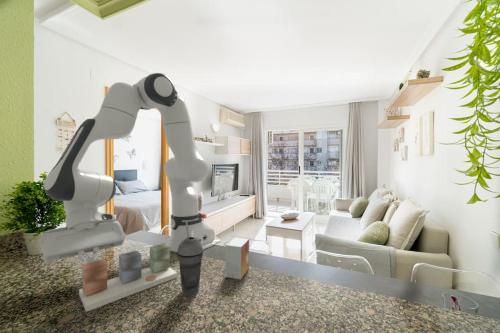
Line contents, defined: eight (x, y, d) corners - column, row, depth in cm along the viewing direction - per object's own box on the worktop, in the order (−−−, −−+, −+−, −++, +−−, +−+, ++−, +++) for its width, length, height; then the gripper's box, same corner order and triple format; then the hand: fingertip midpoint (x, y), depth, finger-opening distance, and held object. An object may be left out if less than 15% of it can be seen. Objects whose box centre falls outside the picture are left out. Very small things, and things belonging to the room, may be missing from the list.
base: (163, 266, 81) (163, 261, 81) (177, 277, 74) (177, 271, 73) (79, 294, 64) (79, 288, 64) (86, 311, 57) (85, 304, 57)
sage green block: (164, 263, 79) (164, 243, 79) (169, 267, 76) (169, 246, 76) (149, 268, 75) (149, 247, 75) (154, 272, 72) (154, 250, 72)
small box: (241, 280, 72) (241, 247, 72) (224, 277, 74) (224, 244, 74) (249, 269, 80) (249, 238, 79) (234, 266, 82) (234, 237, 81)
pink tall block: (103, 282, 66) (103, 258, 66) (107, 288, 63) (107, 263, 63) (82, 289, 63) (82, 264, 63) (85, 296, 60) (84, 269, 60)
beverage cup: (196, 301, 61) (197, 226, 61) (171, 297, 63) (171, 225, 62) (207, 286, 69) (207, 219, 68) (184, 283, 70) (184, 218, 69)
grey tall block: (136, 272, 73) (136, 250, 72) (141, 277, 70) (141, 254, 69) (119, 277, 69) (119, 254, 69) (123, 283, 66) (123, 259, 66)
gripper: (40, 225, 65) (42, 272, 58) (120, 213, 79) (130, 250, 72) (39, 237, 68) (42, 282, 61) (117, 224, 82) (126, 259, 75)
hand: (90, 264), depth 67 cm, fingers closed
